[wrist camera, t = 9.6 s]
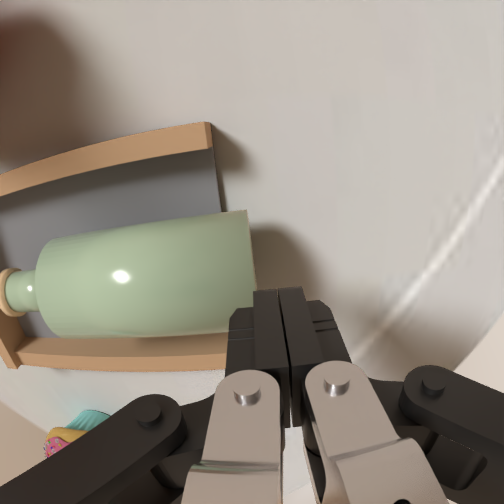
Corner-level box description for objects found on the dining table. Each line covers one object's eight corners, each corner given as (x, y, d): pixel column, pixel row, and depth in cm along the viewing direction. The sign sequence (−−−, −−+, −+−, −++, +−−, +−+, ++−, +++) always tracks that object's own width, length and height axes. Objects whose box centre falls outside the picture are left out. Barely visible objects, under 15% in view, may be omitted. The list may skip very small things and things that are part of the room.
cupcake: (68, 432, 25) (32, 523, 13) (57, 381, 22) (1, 490, 10) (145, 458, 26) (125, 558, 15) (150, 413, 23) (119, 541, 12)
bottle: (247, 236, 11) (-33, 273, 11) (262, 353, 13) (8, 355, 14) (245, 195, 16) (18, 234, 16) (257, 288, 18) (46, 305, 18)
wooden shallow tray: (210, 122, 15) (202, 121, 12) (241, 342, 20) (241, 374, 17) (-30, 188, 15) (-58, 199, 12) (24, 345, 20) (7, 367, 17)
